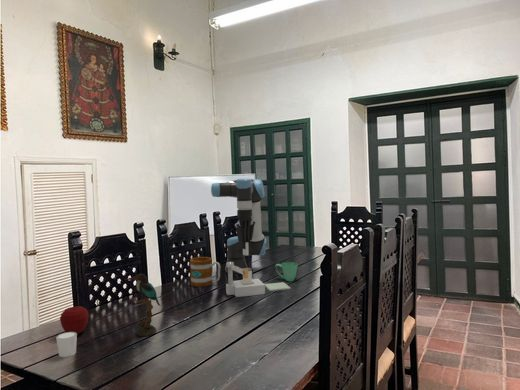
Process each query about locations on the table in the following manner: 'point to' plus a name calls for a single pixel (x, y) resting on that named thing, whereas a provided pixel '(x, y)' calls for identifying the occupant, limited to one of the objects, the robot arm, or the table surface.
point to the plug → (249, 279)
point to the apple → (74, 319)
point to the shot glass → (66, 344)
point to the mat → (277, 286)
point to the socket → (243, 287)
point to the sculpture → (148, 293)
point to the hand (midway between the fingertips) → (245, 254)
